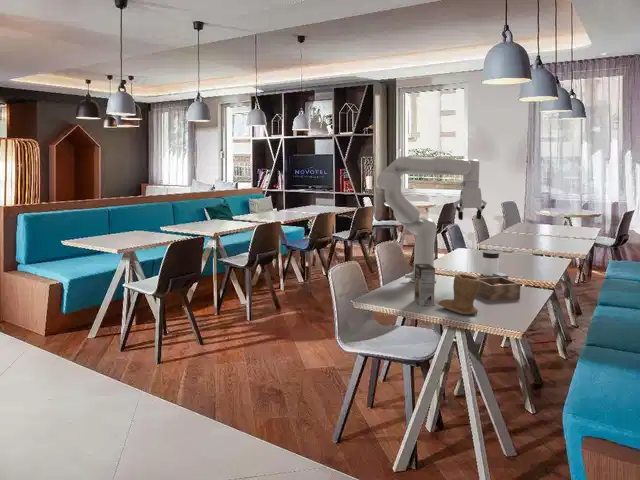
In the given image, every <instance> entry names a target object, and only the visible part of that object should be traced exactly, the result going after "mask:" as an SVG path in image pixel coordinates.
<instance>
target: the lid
mask: <svg viewBox="0 0 640 480" xmlns="http://www.w3.org/2000/svg"><path fill="white" fill-rule="evenodd" d="M494 277H503V278H506V279H509V275H507V274H505V273H502V272H498V273H493V276H492V278H494Z"/></svg>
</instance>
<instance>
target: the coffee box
mask: <svg viewBox="0 0 640 480" xmlns="http://www.w3.org/2000/svg"><path fill="white" fill-rule="evenodd" d="M435 279H436V267H435V266H434V267H433V266H431V265H430V264H415V283H414V295H413V296H414V298H413V299H414V301H415V302H416V304H417V305H418V306H419V305H420V306H419V307H425V306H426V307H427V306H430V307H431V306H433V305H435V289H436V287H435V285H436V284H435V283H436V282H435ZM424 305H425V306H424Z"/></svg>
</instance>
